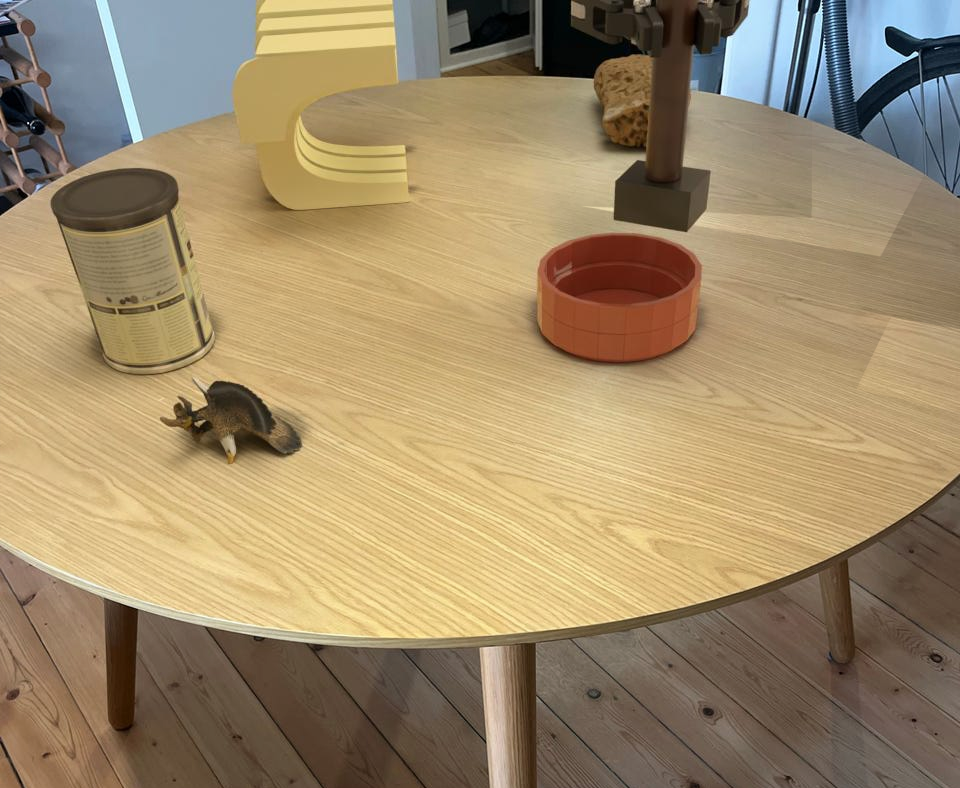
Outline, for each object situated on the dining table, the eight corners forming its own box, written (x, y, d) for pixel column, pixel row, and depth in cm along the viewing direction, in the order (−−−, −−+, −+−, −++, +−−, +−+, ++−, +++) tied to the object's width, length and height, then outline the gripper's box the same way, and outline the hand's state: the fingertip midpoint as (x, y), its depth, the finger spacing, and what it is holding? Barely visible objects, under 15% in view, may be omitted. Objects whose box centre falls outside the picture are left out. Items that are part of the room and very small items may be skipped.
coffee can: (85, 343, 95) (31, 190, 85) (186, 307, 99) (146, 157, 89) (130, 388, 89) (77, 229, 79) (235, 348, 93) (198, 192, 83)
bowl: (716, 305, 95) (723, 248, 91) (662, 380, 86) (667, 320, 82) (576, 278, 100) (577, 222, 96) (512, 346, 91) (510, 288, 87)
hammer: (706, 209, 80) (731, -12, 69) (686, 232, 77) (709, 5, 66) (634, 198, 82) (648, -19, 71) (613, 220, 79) (623, -2, 68)
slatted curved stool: (278, 141, 129) (250, -22, 117) (404, 132, 130) (389, -31, 117) (261, 245, 108) (224, 59, 96) (411, 234, 109) (394, 48, 96)
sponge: (686, 165, 122) (703, 73, 132) (678, 101, 115) (697, 10, 126) (579, 178, 126) (604, 89, 136) (566, 117, 120) (593, 29, 130)
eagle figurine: (169, 472, 78) (279, 454, 76) (149, 377, 77) (260, 357, 75) (212, 466, 85) (313, 450, 84) (194, 380, 84) (296, 361, 82)
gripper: (555, -78, 78) (579, -19, 65) (739, -89, 78) (798, -33, 65) (554, 33, 83) (577, 106, 71) (727, 22, 83) (778, 94, 71)
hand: (683, 39), depth 68 cm, fingers closed on hammer, 3 cm apart
